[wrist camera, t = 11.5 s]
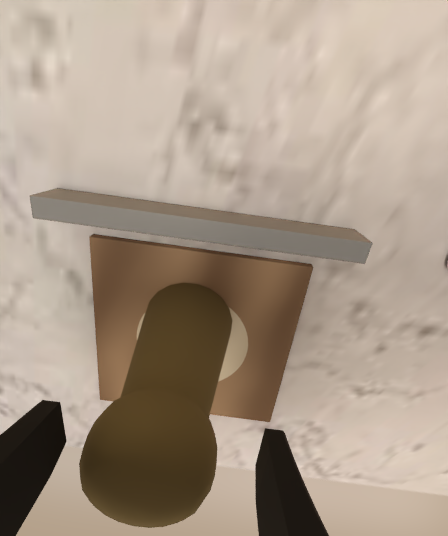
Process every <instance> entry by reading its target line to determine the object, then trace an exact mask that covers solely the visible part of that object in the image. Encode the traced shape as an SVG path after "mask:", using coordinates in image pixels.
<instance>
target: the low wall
mask: <svg viewBox="0 0 448 536" xmlns="http://www.w3.org/2000/svg"><path fill="white" fill-rule="evenodd" d="M30 201H31V208H32V215H33V218H36V219H43V220H50V221H57V222H65V223H72V224H79V225H86V226H94V227H101V228H108V229H115V230H123V231H130V232H137V233H144V234H152V235H159V236H166V237H173V238H181V239H188V240H195V241H202V242H210V243H217V244H224V245H231V246H239V247H246V248H253V249H260V250H268V251H275V252H282V253H289V254H297V255H304V256H311V257H318V258H326V259H333V260H340V261H348V262H355V263H362V264H365V262H366V260H367V257H368V254H369V251H370V248H371V246H372V242H370V241H369V240H368V239H367V238H365V237H364V236H363V235H361V234H360V233H359V232H357V231H356V230H354V229H347V228H340V227H333V226H326V225H318V224H311V223H304V222H297V221H290V220H282V219H275V218H268V217H261V216H254V215H246V214H239V213H232V212H225V211H218V210H210V209H203V208H196V207H189V206H182V205H174V204H167V203H160V202H153V201H145V200H138V199H131V198H124V197H117V196H109V195H102V194H95V193H88V192H81V191H73V190H66V189H59V188H57V189H53V190H49V191H45V192H41V193H37V194H34V195H30Z"/></svg>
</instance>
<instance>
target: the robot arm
mask: <svg viewBox="0 0 448 536" xmlns="http://www.w3.org/2000/svg"><path fill="white" fill-rule="evenodd" d="M447 267H448V262H447ZM65 443H66V436H65V430H64V423H63V417H62V411H61V405H60V402H53V401H46V400H42V401H41V402H40V403H38V404H37V405H36V406H35V407H34V408H32V409H31V410H30V411H29V412H28V413H26V414H25V415H24V416H23V417H22V418H20V419H19V420H18V421H17V422H16V423H14V424H13V425H12V426H11V427H10V428H8V429H7V430H6V431H5V432H3V433H2V434H1V435H0V536H16V534H17V532H18V531H19V529H20V527H21V526H22V524H23V522H24V520H25V519H26V517H27V515H28V514H29V512H30V510H31V509H32V507H33V505H34V503H35V501H36V500H37V498H38V496H39V495H40V493H41V491H42V490H43V488H44V486H45V484H46V483H47V481H48V479H49V477H50V476H51V474H52V472H53V470H54V467H55V465H56V463H57V461H58V459H59V457H60V454H61V452H62V450H63V448H64V446H65ZM256 509H257V519H258V531H259V536H329V535H328V533H327V531H326V529H325V527H324V525H323V523H322V521H321V519H320V516H319V515H318V512H317V510H316V508H315V506H314V504H313V502H312V499H311V497H310V495H309V493H308V491H307V488H306V486H305V484H304V481H303V479H302V477H301V474H300V472H299V470H298V467H297V465H296V462H295V460H294V457H293V455H292V452H291V449H290V447H289V444H288V441H287V438H286V435H285V433H284V432H283V431H282V430H274V429H266V428H265V431H264V435H263V439H262V443H261V446H260V450H259V454H258V458H257V462H256Z"/></svg>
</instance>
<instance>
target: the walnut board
mask: <svg viewBox="0 0 448 536" xmlns="http://www.w3.org/2000/svg"><path fill="white" fill-rule="evenodd" d="M90 252H91V268H92V283H93V298H94V313H95V329H96V344H97V359H98V375H99V390H100V400H107V401H115V400H117V399H119V398H120V397H121V393H122V390H123V387H124V383H125V380H126V377H127V373H128V370H129V366H130V363H131V360H132V356H133V353H134V349H135V346H136V343H137V339H138V336H139V333H140V329H141V326H142V322H143V319H144V316H145V312H146V309H147V307H148V304H149V301H150V300H151V299H152V298H153V296H154V295H155V294H156V293H157V292H158V291H160V290H162V289H164V288H165V287H167V286H169V285H174V284H179V283H191V284H199V285H201V286H204V287H206V288H209V289H211V290H213V291H214V292H215V293H216V294H218V295H219V296H220V297H221V298H222V299H223V300H224V301H225V303H226V304H227V306H228V307H229V309H230V313H231V317H232V328H231V334H230V338H229V342H228V346H227V349H226V353H225V357H224V361H223V365H222V369H221V373H220V376H219V380H218V384H217V388H216V392H215V396H214V400H213V403H212V407H211V411H210V414H213V415H220V416H228V417H235V418H243V419H251V420H258V421H266V422H270V420H271V416H272V413H273V409H274V406H275V402H276V398H277V395H278V391H279V388H280V384H281V381H282V377H283V373H284V370H285V366H286V363H287V359H288V355H289V352H290V348H291V345H292V341H293V338H294V334H295V330H296V327H297V323H298V320H299V316H300V313H301V309H302V305H303V302H304V298H305V295H306V291H307V288H308V284H309V280H310V277H311V273H312V270H313V266H312V265H311V264H305V263H298V262H291V261H283V260H276V259H269V258H262V257H254V256H247V255H240V254H233V253H225V252H218V251H211V250H204V249H196V248H189V247H182V246H174V245H167V244H160V243H153V242H145V241H138V240H131V239H124V238H116V237H109V236H102V235H95V234H93V235H91V236H90Z"/></svg>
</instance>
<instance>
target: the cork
mask: <svg viewBox="0 0 448 536" xmlns="http://www.w3.org/2000/svg"><path fill="white" fill-rule="evenodd" d="M231 328H232V317H231V313H230V309H229V307H228V306H227V304H226V303H225V301H224V300H223V299H222V298H221V297H220V296H219V295H218V294H216V293H215V292H214V291H213V290H211V289H209V288H206V287H204V286H201V285H199V284H191V283H179V284H174V285H169V286H167V287H165V288H164V289H162V290H160V291H158V292H157V293H156V294H155V295H154V296H153V298H152V299H151V300H150V301H149V304H148V307H147V309H146V312H145V316H144V319H143V322H142V326H141V329H140V333H139V336H138V339H137V343H136V346H135V349H134V353H133V356H132V360H131V363H130V366H129V370H128V373H127V377H126V380H125V383H124V387H123V390H122V393H121V397H120V398H119V399H117V400H115V401H114V402H113V403H112V404H111V405H110V406H109V407H108V408H107V409H106V410H105V411H104V412H103V413H102V414H101V415H100V416H99V418H98V419H97V420H96V421H95V423H94V424H93V426H92V428H91V430H90V432H89V434H88V436H87V439H86V442H85V444H84V447H83V451H82V455H81V459H80V463H79V465H80V478H81V484H82V490H83V492H84V493H85V495H86V496H87V497H88V499H89V501H90V502H91V503H92V504H93V505H94V506H95V507H96V508H97V509H98V510H100V511H101V512H102V513H103V514H105V515H106V516H108V517H110V518H112V519H114V520H116V521H118V522H121V523H125V524H128V525H132V526H139V527H148V528H151V527H164V526H167V525H171V524H174V523H178V522H180V521H182V520H184V519H186V518H187V517H189V516H191V515H192V514H194V513H195V512H196V511H197V509H198V508H199V506H200V505H201V503H202V502H203V500H204V499H205V497H206V496H207V494H208V493H209V492H210V490H211V486H212V483H213V480H214V476H215V470H216V461H217V444H216V438H215V433H214V430H213V428H212V425H211V422H210V420H209V415H210V411H211V407H212V403H213V400H214V396H215V392H216V388H217V384H218V380H219V376H220V373H221V369H222V365H223V361H224V357H225V353H226V349H227V346H228V342H229V338H230V334H231Z"/></svg>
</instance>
